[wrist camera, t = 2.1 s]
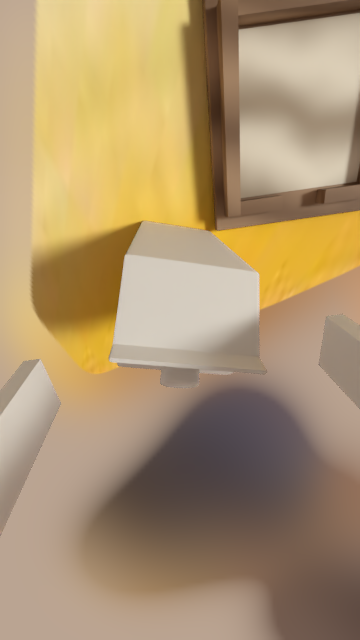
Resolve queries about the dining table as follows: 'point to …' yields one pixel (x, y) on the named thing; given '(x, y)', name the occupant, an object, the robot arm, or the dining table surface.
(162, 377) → the milk carton
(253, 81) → the brown picture frame
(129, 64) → the dining table surface
